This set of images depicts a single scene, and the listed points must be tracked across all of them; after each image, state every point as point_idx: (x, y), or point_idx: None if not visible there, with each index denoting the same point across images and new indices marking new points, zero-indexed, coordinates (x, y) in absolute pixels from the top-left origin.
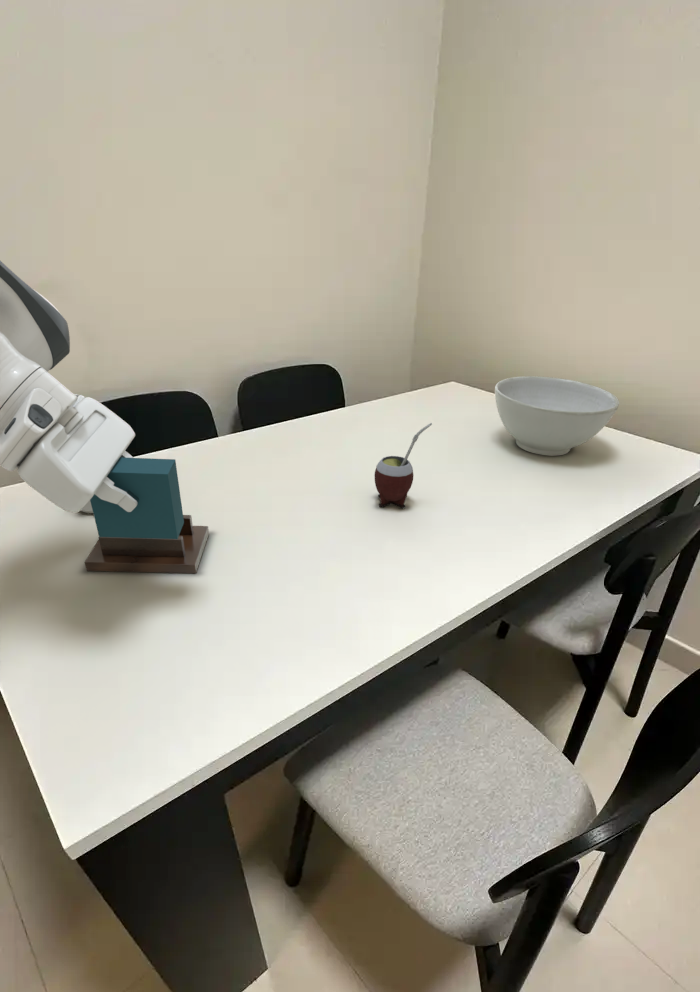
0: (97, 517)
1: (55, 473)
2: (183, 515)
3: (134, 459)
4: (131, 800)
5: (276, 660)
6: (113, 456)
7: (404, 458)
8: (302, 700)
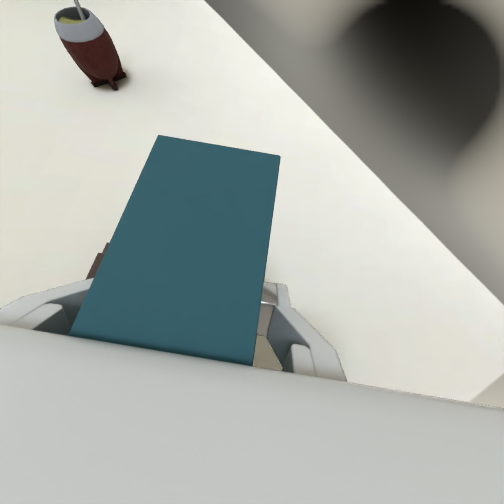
0: None
1: None
2: (95, 263)
3: (117, 268)
4: (498, 304)
5: (345, 201)
6: (124, 371)
7: (76, 2)
8: (387, 190)
